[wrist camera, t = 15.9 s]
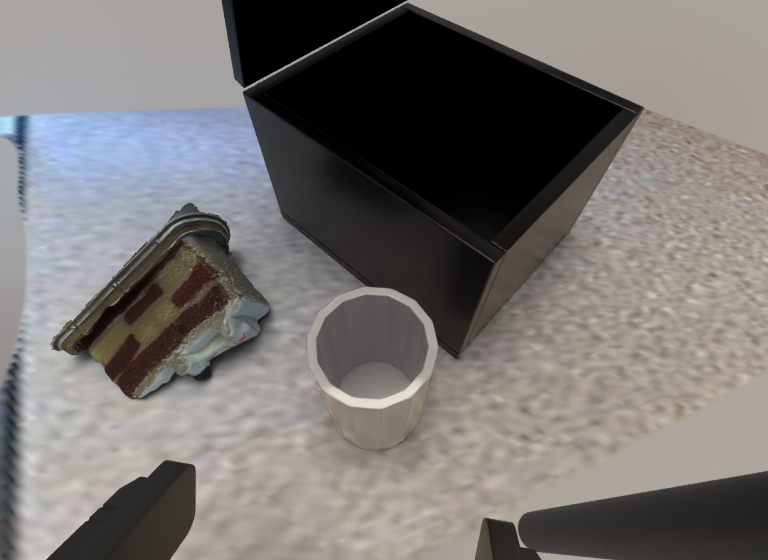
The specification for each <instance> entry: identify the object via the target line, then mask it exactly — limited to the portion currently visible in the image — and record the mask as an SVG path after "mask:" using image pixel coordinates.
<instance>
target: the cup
mask: <svg viewBox="0 0 768 560" xmlns="http://www.w3.org/2000/svg"><path fill="white" fill-rule="evenodd" d="M306 343H307V363H308V368H309V370H310V372H311V374H312V377H313V379H314V381H315V383H316V385H317V388H318V390H319V392H320V394H321V396H322V399H323V401H324V403H325V405H326V407H327V410H328V412H329V414H330V416H331V418H332V420H333V422H334V423H335V425H336V427H337V429H338V430H339V432H340V433H341V435H342V436H343V437H345V438H346V439H347V440H348V441H349V442H351V443H352V444H354V445H356V446H358V447H361V448H364V449H369V450H381V449H387V448H390V447H393V446H395V445H397V444H399V443H400V442H402V441H403V440H404V439H406V438H407V437H408V436H409V435H410V434H411V432H412V431H413V430H414V428H415V426H416V425H417V423H418V421H419V418H420V414H421V411H422V407H423V404H424V400H425V397H426V393H427V390H428V387H429V383H430V380H431V376H432V372H433V369H434V365H435V361H436V357H437V353H438V343H437V338H436V334H435V330H434V325H433V322H432V320H431V319H430V318H429V316H428V315H427V314H426V313H425V312H424V310H423V309H422V308H421V307H420V305H419V304H418V303H417V302H416V301H415V300H413V299H411V298H409V297H407V296H405V295H403V294H401V293H399V292H397V291H395V290H393V289H390V288H376V287H362V288H359V289H356V290H353V291H350V292H347V293H344V294H341V295H339V296H337V297H336V298H335V299H333V300H332V301H331V302H330V303H329V304H328V305H327V306H325V307H324V308H323V309H322V310H321V311H320V312H318V314H317V316H316V318H315V320H314V322H313V325H312V327H311V329H310V331H309V334H308V336H307V339H306Z"/></svg>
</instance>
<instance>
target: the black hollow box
mask: <svg viewBox="0 0 768 560" xmlns="http://www.w3.org/2000/svg"><path fill="white" fill-rule="evenodd" d="M243 95H244V98H245V101H246V104H247V108H248V111H249V114H250V117H251V120H252V123H253V126H254V129H255V132H256V136H257V139H258V142H259V145H260V148H261V151H262V154H263V157H264V160H265V164H266V167H267V170H268V173H269V176H270V179H271V182H272V185H273V189H274V192H275V195H276V198H277V201H278V204H279V207H280V210H281V214H282V217H283V218H285V219H286V220H287V221H288V222H290V223H291V224H292V225H293V226H295V227H296V228H297V229H298V230H299V231H301V232H302V233H303V234H304V235H306V236H307V237H308V238H309V239H310V240H312V241H313V242H314V243H315V244H317V245H318V246H319V247H320V248H321V249H323V250H324V251H325V252H326V253H328V254H329V255H330V256H331V257H332V258H334V259H335V260H336V261H337V262H339V263H340V264H341V265H342V266H344V267H345V268H346V269H347V270H348V271H350V272H351V273H352V274H353V275H355V276H356V277H357V278H358V279H359V280H361V281H362V282H363V283H364V284H366V285H367V286H368V287H376V288H390V289H393V290H395V291H397V292H399V293H401V294H403V295H405V296H407V297H409V298H411V299H413V300H415V301H416V302H417V303H418V304H419V305H420V307H421V308H422V309H423V310H424V312H425V313H426V314H427V315H428V316H429V318H430V319H431V320H432V322H433V325H434V330H435V334H436V338H437V343H438V344H439V345H440V346H442V347H443V348H444V349H445V350H446V351H448V352H449V353H450V354H451V355H453V356H454V357H455V358H458V357H459V356H460V355H461V354H462V352H463V351H464V350H465V349H466V348H467V347H468V346H469V345H470V343H471V342H472V341H473V340H474V339H475V338H476V337H477V336H478V334H479V333H480V332H481V331H482V330H483V329H484V328H485V327H486V325H487V324H488V323H489V322H490V321H491V320H492V319H493V317H494V316H495V315H496V314H497V313H498V312H499V311H500V310H501V308H502V307H503V306H504V305H505V304H506V303H507V302H508V301H509V299H510V298H511V297H512V296H513V295H514V294H515V293H516V292H517V290H518V289H519V288H520V287H521V286H522V285H523V284H524V283H525V281H526V280H527V279H528V278H529V277H530V276H531V275H532V273H533V272H534V271H535V270H536V269H537V268H538V267H539V266H540V264H541V263H542V262H543V261H544V260H545V259H546V258H547V257H548V255H549V254H550V253H551V252H552V251H553V250H554V249H555V248H556V246H557V245H558V244H559V243H560V242H561V241H562V240H563V239H564V237H565V236H566V235H567V234H568V233H569V232H570V230H571V229H572V227H573V225H574V224H575V222H576V220H577V219H578V217H579V215H580V214H581V212H582V211H583V209H584V207H585V206H586V204H587V202H588V201H589V199H590V197H591V196H592V194H593V192H594V191H595V189H596V187H597V186H598V184H599V182H600V181H601V179H602V177H603V176H604V174H605V173H606V171H607V169H608V168H609V166H610V164H611V163H612V161H613V159H614V158H615V156H616V154H617V153H618V151H619V149H620V148H621V146H622V144H623V143H624V141H625V139H626V138H627V136H628V135H629V133H630V131H631V130H632V128H633V126H634V125H635V123H636V121H637V120H638V118H639V116H640V115H641V113H642V111H643V110H644V107H642V106H640V105H638V104H636V103H633V102H631V101H629V100H626V99H624V98H622V97H620V96H617V95H615V94H613V93H611V92H608V91H606V90H604V89H602V88H599V87H597V86H595V85H593V84H590V83H588V82H586V81H584V80H581V79H579V78H577V77H574V76H572V75H570V74H568V73H565V72H563V71H561V70H558V69H556V68H554V67H552V66H550V65H547V64H545V63H543V62H541V61H538V60H536V59H534V58H531V57H529V56H527V55H525V54H522V53H520V52H518V51H516V50H513V49H511V48H509V47H507V46H504V45H502V44H500V43H498V42H495V41H493V40H491V39H489V38H486V37H484V36H481V35H479V34H477V33H475V32H473V31H470V30H468V29H466V28H464V27H461V26H459V25H457V24H455V23H452V22H450V21H448V20H446V19H443V18H441V17H439V16H436V15H434V14H432V13H430V12H427V11H425V10H423V9H421V8H418V7H416V6H414V5H411V4H409V3H406V4H404V5H402V6H400V7H398V8H396V9H395V10H393V11H391V12H389V13H387V14H385V15H384V16H382V17H380V18H378V19H376V20H374V21H373V22H371V23H369V24H367V25H365V26H363V27H361V28H360V29H358V30H356V31H354V32H352V33H351V34H348V35H347V36H345V37H343V38H341V39H339V40H337V41H336V42H334V43H332V44H330V45H328V46H326V47H324V48H323V49H321V50H319V51H317V52H315V53H313V54H312V55H310V56H308V57H306V58H304V59H302V60H301V61H299V62H297V63H295V64H293V65H291V66H290V67H288V68H286V69H284V70H282V71H280V72H278V73H277V74H275V75H273V76H271V77H269V78H267V79H266V80H264V81H262V82H260V83H258V84H256V85H255V87H254V86H253V87H251V88H249V89H247V90H245V91H244V92H243Z"/></svg>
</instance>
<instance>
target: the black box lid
mask: <svg viewBox="0 0 768 560" xmlns="http://www.w3.org/2000/svg"><path fill="white" fill-rule="evenodd" d="M405 1H407V0H222V6H223V12H224V18H225V24H226V30H227V36H228V41H229V48H230V54H231V60H232V66H233V72H234V78H235V80H236V81H237V82H238V83H239V84H240V85H241V86H242V87H244V88H245V87H247V86H249V85H251V84H253V83H254V82H256V81H258V80H260V79H262V78H264V77H266V76H267V75H269V74H271V73H273V72H275V71H277V70H279V69H280V68H282V67H284V66H286V65H288V64H290V63H292V62H294V61H295V60H297V59H299V58H301V57H303V56H305V55H307V54H308V53H310V52H312V51H314V50H316V49H318V48H319V47H321V46H323V45H325V44H327V43H329V42H331V41H332V40H334V39H336V38H338V37H340V36H342V35H344V34H345V33H347V32H349V31H351V30H353V29H355V28H357V27H359V26H360V25H362V24H364V23H366V22H368V21H370V20H372V19H373V18H375V17H377V16H379V15H381V14H383V13H385V12H386V11H388V10H390V9H392V8H394V7H396V6H398V5H399V4H401V3H403V2H405Z"/></svg>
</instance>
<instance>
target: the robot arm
mask: <svg viewBox="0 0 768 560" xmlns="http://www.w3.org/2000/svg"><path fill="white" fill-rule="evenodd" d="M195 507H196V470H195V466H194V465H192V464H187V463H181V462H175V461H170V460H166V461H164V462H163V463H161V464H160V465H159V466H158V467H157V468H156V469H155V470H154V471H153V473H152V474H151V475H150V476H149V477H148V478H146V477H139V478H137V479H136V480H134V481H132V482H130V483H129V484H127V485H125V486H123V487H122V488H120V489H119V490H118V491H117V492H116V493H115V494H114V495H113V496H112V497H111V498H109V499H108V500H107V501H106V502H105V503H104V504H103V507H102V508H99V509H98V510H97V511H96V512H95V513H94V514H93V515H92V516H91V517H90V519H89V521H86V522H85V523H84V524H83V525H82V526H80V527H79V528H78V529H77V530H76V531H75V532H74V533H73V534H72V535H71V536H70V537H69V538H68V539H67V540H66V541H65V542H64V543H63V544H62V545H61V546H60V547H59V548H58V549H57V550H56V551H55V552H54V553H52V554H51V555H50V556H49V557H48V558H47V559H46V560H170V559H171V557H172V556H173V554H174V553H175V552H176V550H177V549H178V547H179V546H180V544H181V543H182V542H183V540H184V539H185V537H186V536H187V534H188V532H189V530H190V528H191V526H192V523H193V520H194V516H195ZM475 560H541V558H540V557H539V556H538V554H537V553H536V551H535V550H533V549H528V548H522V547H520V545H519V541H518V537H517V533H516V529H515V526H514V524H513V523H512V522H506V521H501V520H495V519H490V518H484V519H483V521H482V526H481V531H480V536H479V541H478V546H477V551H476V556H475Z"/></svg>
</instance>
